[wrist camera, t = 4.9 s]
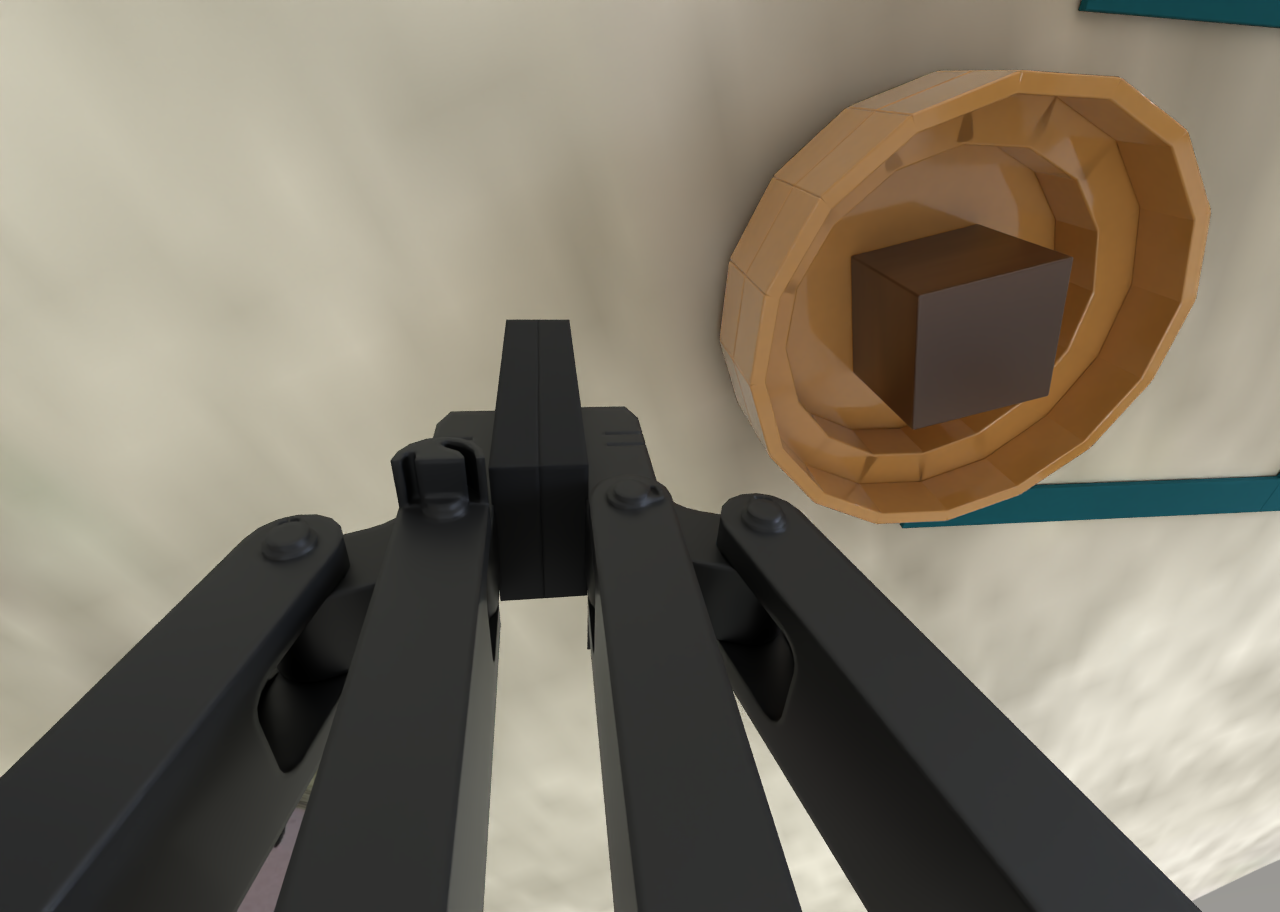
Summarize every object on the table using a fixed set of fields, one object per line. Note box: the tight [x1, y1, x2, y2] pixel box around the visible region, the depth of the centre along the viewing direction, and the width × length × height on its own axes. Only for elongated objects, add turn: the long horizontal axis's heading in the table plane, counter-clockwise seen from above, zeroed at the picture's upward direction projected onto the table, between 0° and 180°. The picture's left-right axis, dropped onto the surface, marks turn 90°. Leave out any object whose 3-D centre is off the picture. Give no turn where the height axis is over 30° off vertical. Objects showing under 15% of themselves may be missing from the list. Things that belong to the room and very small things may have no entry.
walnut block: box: [851, 224, 1073, 430], centre depth 20 cm, size 4×4×4 cm
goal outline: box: [900, 0, 1280, 528], centre depth 24 cm, size 22×22×1 cm
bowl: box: [719, 70, 1211, 524], centre depth 21 cm, size 14×14×4 cm
